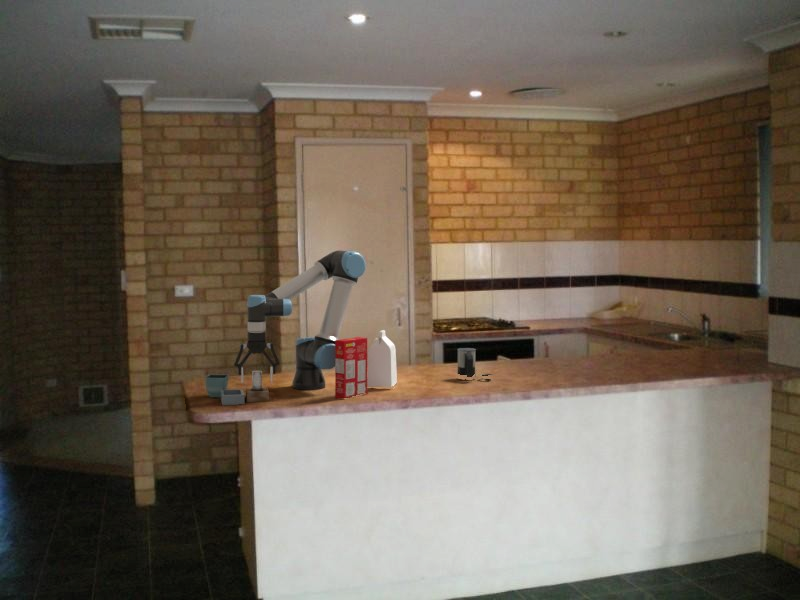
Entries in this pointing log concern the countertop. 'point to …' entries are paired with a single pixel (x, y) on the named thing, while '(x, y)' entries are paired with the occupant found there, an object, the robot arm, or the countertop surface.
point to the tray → (232, 397)
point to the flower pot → (216, 384)
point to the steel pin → (256, 380)
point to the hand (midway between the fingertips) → (256, 382)
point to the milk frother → (467, 362)
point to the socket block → (257, 395)
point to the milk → (382, 362)
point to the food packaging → (350, 367)
